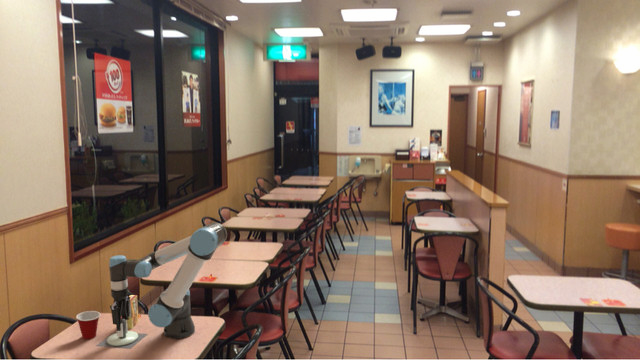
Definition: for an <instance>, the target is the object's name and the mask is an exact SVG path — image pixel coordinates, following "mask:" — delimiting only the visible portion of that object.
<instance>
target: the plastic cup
mask: <svg viewBox="0 0 640 360" xmlns="http://www.w3.org/2000/svg"><path fill="white" fill-rule="evenodd" d="M100 317H101V312H99V311H96V310H87V311H82V312H80V313H77V314H76V317H75V318H76V320H77V322H78V327H79V330H80V333H81V337H82V339H83V340H93V339H94V338H96V337H97V331H98V325H99V324H98V323H99V320H100V319H99V318H100Z"/></svg>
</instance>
